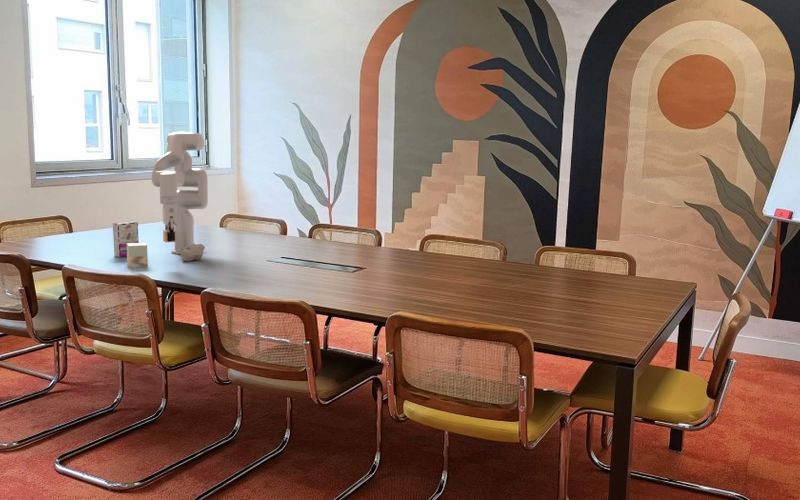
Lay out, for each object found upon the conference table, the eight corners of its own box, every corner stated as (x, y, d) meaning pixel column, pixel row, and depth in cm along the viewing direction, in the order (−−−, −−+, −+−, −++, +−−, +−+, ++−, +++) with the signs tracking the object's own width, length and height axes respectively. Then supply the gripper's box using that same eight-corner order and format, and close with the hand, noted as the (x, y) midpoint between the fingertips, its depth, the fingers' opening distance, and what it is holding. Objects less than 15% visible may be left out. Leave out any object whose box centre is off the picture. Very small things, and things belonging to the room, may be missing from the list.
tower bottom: (145, 263, 366) (144, 253, 365) (147, 266, 359) (147, 256, 358) (127, 264, 362) (126, 254, 362) (129, 267, 355) (129, 256, 354)
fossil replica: (175, 261, 373) (194, 265, 370) (175, 245, 371) (194, 248, 368) (189, 255, 384) (207, 259, 381) (189, 239, 382) (208, 242, 379)
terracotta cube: (174, 239, 359) (174, 229, 359) (176, 241, 355) (176, 230, 354) (163, 240, 357) (163, 229, 356) (165, 242, 353) (165, 231, 352)
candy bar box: (133, 253, 391) (132, 221, 388) (139, 254, 388) (138, 221, 385) (113, 256, 382) (112, 223, 379) (119, 257, 379) (118, 224, 376)
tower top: (145, 253, 365) (144, 242, 364) (147, 256, 358) (147, 245, 357) (127, 254, 362) (126, 243, 361) (129, 256, 355) (128, 246, 354)
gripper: (181, 202, 347) (182, 242, 350) (173, 197, 362) (174, 236, 365) (163, 202, 344) (165, 243, 347) (156, 198, 358) (158, 237, 362)
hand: (170, 239), depth 356 cm, fingers closed on terracotta cube, 4 cm apart
